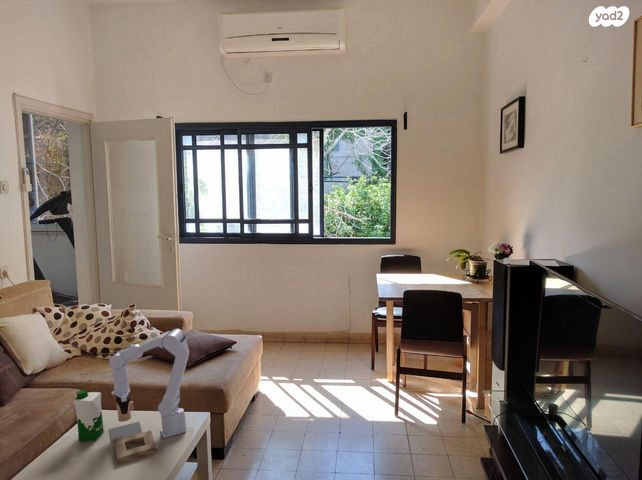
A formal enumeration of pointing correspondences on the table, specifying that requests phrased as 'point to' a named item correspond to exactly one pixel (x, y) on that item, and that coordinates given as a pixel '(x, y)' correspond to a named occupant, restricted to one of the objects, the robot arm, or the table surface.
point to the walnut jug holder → (136, 452)
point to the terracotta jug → (125, 416)
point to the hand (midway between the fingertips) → (123, 410)
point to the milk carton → (89, 415)
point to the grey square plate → (125, 431)
